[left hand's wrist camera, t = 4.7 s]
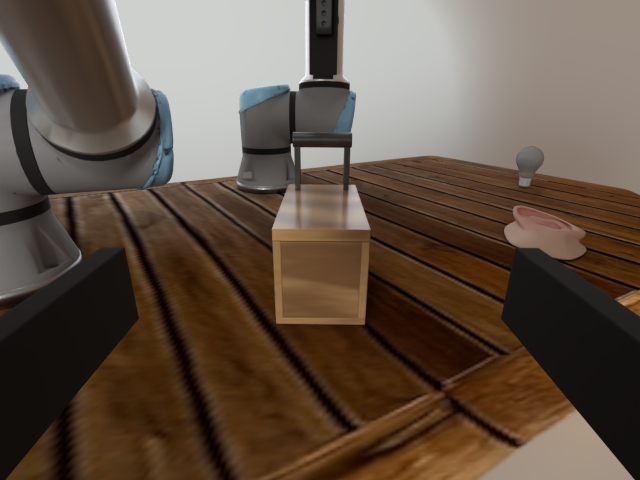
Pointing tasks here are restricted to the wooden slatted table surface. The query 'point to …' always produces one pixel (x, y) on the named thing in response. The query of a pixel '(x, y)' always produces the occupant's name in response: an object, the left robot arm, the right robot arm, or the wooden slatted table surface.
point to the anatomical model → (545, 233)
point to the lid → (321, 200)
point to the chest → (320, 282)
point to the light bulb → (528, 164)
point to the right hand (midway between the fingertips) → (323, 77)
